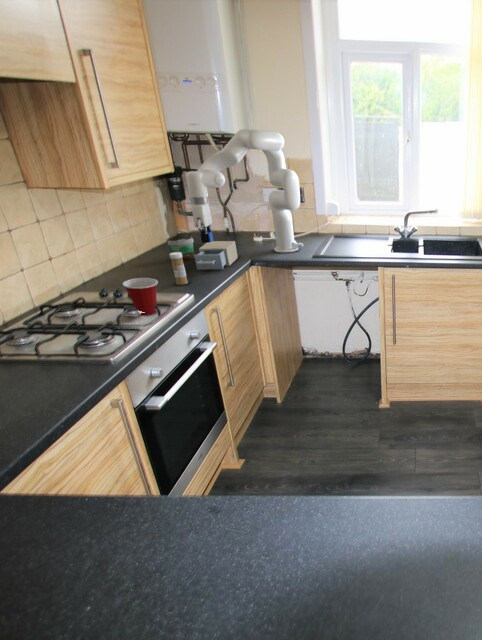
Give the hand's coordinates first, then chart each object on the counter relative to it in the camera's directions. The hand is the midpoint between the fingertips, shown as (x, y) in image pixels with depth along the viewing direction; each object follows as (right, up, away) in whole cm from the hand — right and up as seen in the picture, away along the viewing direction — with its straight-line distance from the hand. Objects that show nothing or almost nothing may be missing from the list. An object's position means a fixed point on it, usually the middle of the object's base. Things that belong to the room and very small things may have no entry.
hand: (207, 240), depth 219 cm
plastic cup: (+1, -36, -45) cm, 58 cm away
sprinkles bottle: (-3, -22, -15) cm, 27 cm away
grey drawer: (0, -11, +5) cm, 12 cm away
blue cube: (0, 0, 0) cm, 0 cm away
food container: (-20, -5, +19) cm, 28 cm away
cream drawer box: (-2, -7, +16) cm, 18 cm away
